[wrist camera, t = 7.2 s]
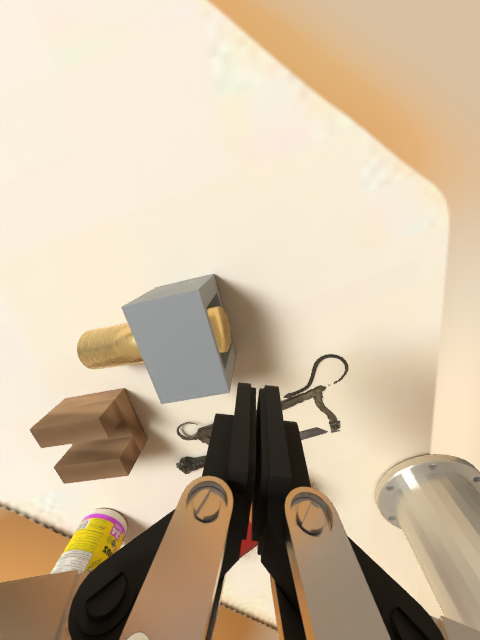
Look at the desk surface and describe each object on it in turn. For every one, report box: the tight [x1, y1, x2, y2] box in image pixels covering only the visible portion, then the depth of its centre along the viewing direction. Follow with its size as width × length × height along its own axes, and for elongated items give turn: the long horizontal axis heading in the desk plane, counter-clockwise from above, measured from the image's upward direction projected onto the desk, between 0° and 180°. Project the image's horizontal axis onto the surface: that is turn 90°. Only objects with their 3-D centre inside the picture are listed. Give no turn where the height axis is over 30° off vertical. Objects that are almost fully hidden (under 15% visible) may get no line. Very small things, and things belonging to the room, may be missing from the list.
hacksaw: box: [176, 354, 348, 474], centre depth 29 cm, size 24×10×2 cm, turn 112°
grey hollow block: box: [122, 274, 236, 404], centre depth 22 cm, size 6×9×7 cm
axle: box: [77, 306, 231, 369], centre depth 23 cm, size 14×4×4 cm, turn 104°
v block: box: [30, 388, 147, 484], centre depth 29 cm, size 8×8×5 cm
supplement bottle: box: [50, 508, 127, 574], centre depth 32 cm, size 7×7×13 cm
